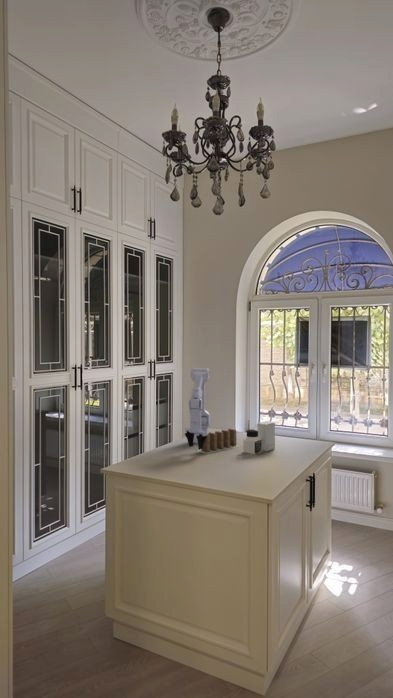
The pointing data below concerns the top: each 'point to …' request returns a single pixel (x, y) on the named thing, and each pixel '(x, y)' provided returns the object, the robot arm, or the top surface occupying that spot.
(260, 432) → the skincare box
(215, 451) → the domino mat
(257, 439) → the medicine bottle
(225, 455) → the top surface
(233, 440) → the domino
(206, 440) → the end domino
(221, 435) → the domino
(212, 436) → the domino
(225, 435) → the domino
